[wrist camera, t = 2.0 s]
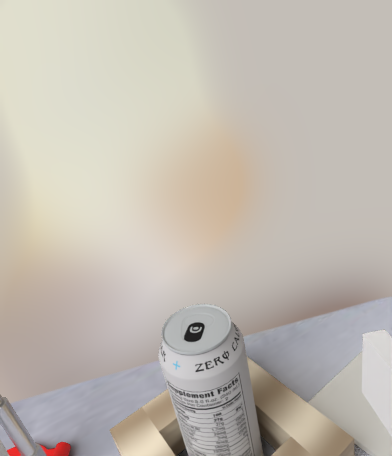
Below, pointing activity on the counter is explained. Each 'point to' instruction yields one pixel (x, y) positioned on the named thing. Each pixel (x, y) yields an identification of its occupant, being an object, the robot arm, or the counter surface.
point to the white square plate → (353, 410)
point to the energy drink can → (210, 382)
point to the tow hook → (25, 435)
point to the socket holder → (266, 415)
